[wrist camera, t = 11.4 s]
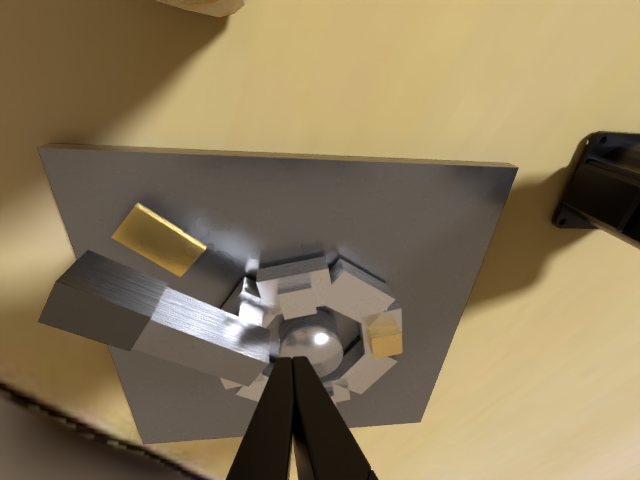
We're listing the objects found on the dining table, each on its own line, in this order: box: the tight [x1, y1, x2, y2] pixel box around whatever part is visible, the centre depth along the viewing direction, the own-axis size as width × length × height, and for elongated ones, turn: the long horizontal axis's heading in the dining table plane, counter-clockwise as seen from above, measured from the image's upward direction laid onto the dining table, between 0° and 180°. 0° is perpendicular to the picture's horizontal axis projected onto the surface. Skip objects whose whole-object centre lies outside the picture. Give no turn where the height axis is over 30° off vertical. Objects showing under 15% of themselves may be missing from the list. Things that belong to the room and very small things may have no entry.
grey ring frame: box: [38, 250, 403, 407], centre depth 20 cm, size 21×13×5 cm, turn 53°
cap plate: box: [37, 143, 518, 444], centre depth 23 cm, size 26×26×3 cm
